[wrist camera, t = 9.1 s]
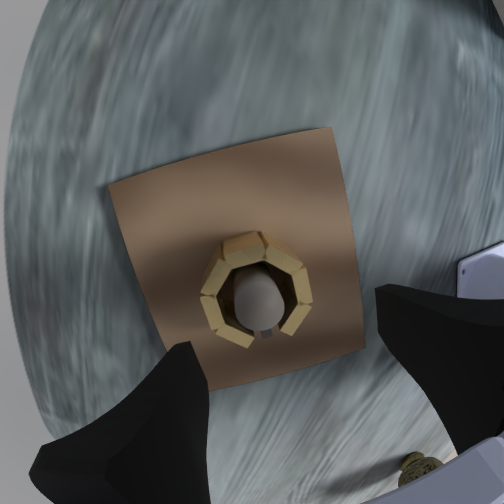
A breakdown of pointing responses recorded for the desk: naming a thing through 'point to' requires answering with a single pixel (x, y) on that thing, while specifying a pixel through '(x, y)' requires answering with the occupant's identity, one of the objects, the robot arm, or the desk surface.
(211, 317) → the brass collar
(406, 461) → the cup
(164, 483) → the robot arm
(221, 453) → the desk surface
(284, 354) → the post stand
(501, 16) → the miniature monument
